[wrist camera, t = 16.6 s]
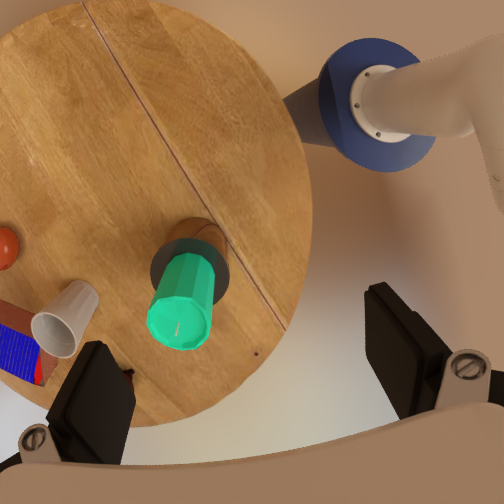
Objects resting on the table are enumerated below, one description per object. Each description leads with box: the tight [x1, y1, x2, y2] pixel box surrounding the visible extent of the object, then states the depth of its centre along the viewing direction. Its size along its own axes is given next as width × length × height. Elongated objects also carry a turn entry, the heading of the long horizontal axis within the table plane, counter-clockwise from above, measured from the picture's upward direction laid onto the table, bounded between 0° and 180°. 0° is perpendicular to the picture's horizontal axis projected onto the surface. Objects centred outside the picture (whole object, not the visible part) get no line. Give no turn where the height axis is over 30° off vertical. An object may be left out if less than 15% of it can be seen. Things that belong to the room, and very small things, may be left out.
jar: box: [150, 218, 230, 305], centre depth 43 cm, size 10×10×10 cm
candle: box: [147, 253, 215, 351], centre depth 32 cm, size 6×6×12 cm
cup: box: [31, 280, 99, 358], centre depth 44 cm, size 8×8×12 cm
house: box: [0, 300, 57, 387], centre depth 45 cm, size 12×20×12 cm, turn 72°
